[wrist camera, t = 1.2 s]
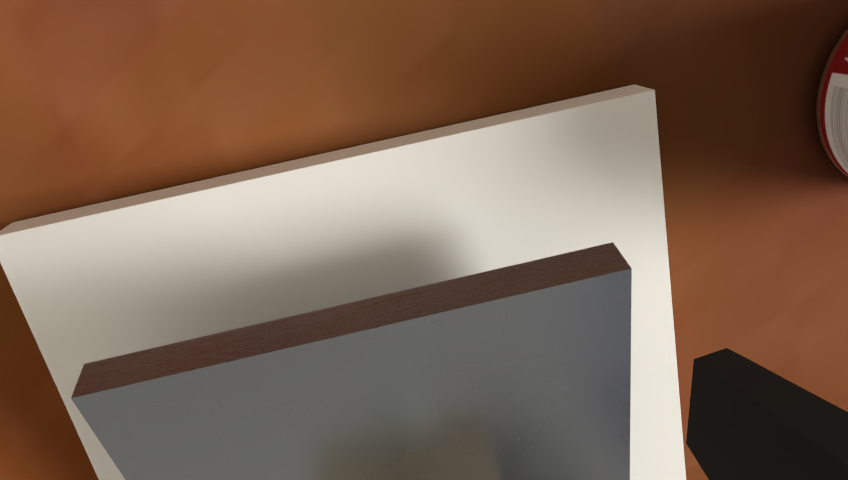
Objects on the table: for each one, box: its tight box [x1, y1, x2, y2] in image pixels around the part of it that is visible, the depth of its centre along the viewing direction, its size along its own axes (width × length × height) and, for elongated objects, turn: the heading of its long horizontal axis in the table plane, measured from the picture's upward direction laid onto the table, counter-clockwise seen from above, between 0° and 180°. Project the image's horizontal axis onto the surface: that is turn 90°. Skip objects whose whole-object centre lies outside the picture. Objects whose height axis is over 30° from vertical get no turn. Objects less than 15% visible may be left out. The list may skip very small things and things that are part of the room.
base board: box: [0, 84, 686, 480], centre depth 23 cm, size 20×20×3 cm
